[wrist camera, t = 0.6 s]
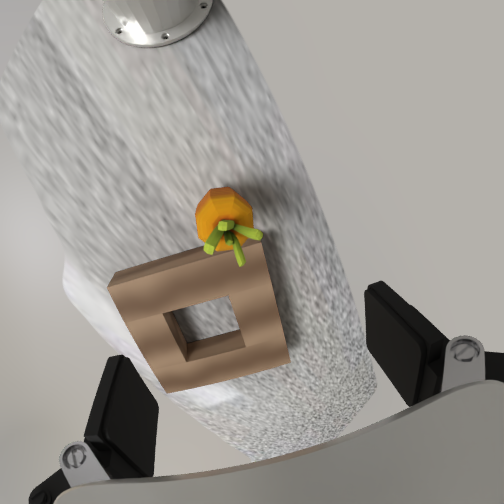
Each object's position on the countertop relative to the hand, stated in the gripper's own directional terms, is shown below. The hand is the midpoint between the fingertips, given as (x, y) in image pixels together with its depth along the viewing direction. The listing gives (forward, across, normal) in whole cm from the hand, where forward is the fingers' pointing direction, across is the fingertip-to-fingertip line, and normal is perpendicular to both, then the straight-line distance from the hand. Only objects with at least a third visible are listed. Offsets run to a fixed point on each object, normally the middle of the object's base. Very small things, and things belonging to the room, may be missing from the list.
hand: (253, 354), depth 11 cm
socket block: (+26, +6, +13) cm, 29 cm away
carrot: (+25, 0, -1) cm, 25 cm away
